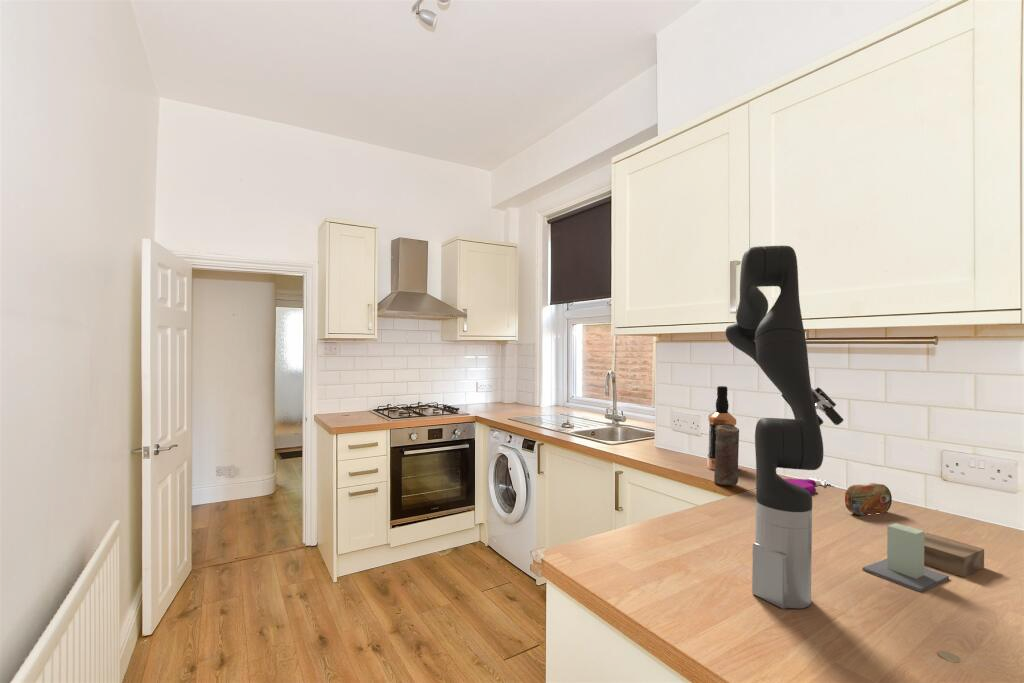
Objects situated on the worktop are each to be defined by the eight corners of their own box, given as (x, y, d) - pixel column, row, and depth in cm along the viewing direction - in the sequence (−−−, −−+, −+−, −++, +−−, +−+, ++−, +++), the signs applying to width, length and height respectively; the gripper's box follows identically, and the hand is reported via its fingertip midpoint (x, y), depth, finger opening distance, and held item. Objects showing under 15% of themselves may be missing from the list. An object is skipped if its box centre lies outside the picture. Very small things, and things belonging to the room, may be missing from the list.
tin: (852, 517, 134) (852, 487, 134) (842, 513, 137) (842, 484, 137) (892, 513, 138) (893, 484, 138) (881, 509, 141) (882, 481, 141)
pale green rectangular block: (916, 578, 97) (916, 534, 97) (887, 568, 101) (887, 525, 101) (924, 575, 98) (924, 531, 98) (895, 565, 103) (895, 523, 103)
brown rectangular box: (963, 577, 99) (963, 557, 99) (905, 557, 108) (906, 540, 108) (984, 567, 104) (984, 548, 104) (927, 549, 113) (927, 532, 113)
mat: (920, 592, 92) (920, 589, 92) (862, 570, 101) (862, 567, 101) (948, 579, 98) (948, 576, 98) (891, 559, 107) (891, 556, 107)
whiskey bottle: (706, 463, 195) (707, 384, 195) (733, 465, 192) (734, 385, 192) (708, 469, 185) (709, 386, 185) (736, 472, 182) (737, 387, 182)
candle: (737, 483, 166) (738, 425, 167) (739, 488, 160) (740, 428, 160) (713, 480, 169) (714, 424, 169) (714, 486, 162) (715, 427, 162)
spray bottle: (766, 490, 160) (803, 481, 173) (800, 499, 151) (837, 489, 164) (766, 481, 160) (804, 473, 173) (800, 489, 151) (837, 480, 164)
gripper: (777, 364, 121) (825, 416, 110) (811, 364, 127) (858, 413, 117) (758, 383, 125) (801, 435, 115) (791, 382, 132) (835, 431, 122)
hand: (830, 423), depth 116 cm, fingers open, 8 cm apart
